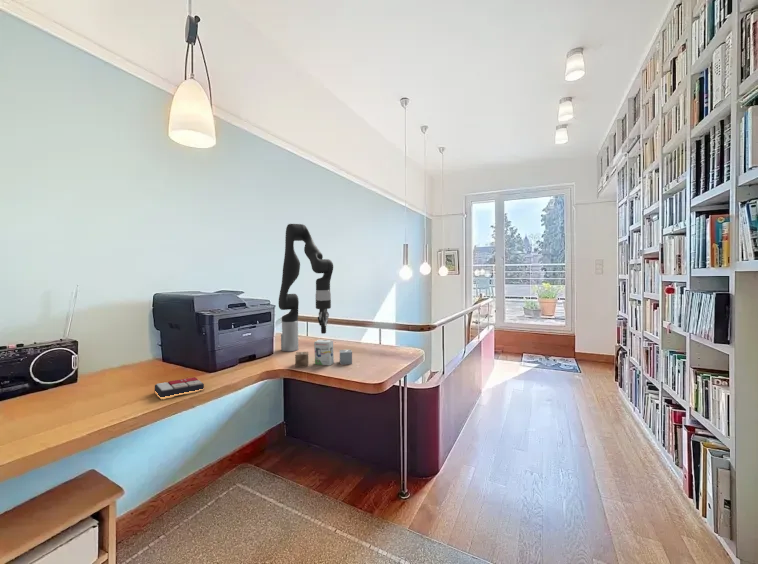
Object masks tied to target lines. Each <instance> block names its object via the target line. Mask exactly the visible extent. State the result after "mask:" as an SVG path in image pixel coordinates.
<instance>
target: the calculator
mask: <svg viewBox="0 0 758 564" xmlns="http://www.w3.org/2000/svg"><path fill="white" fill-rule="evenodd" d="M203 388H204V389H205V384H204V383H203V382H202V381H201V380H200V379H199V378H197V377H187V378H181V379H175V380H169V381H168V382H166V381H165V382H161V383H156V384H154V392H155V391H156V392H157V393H158V395H159V396H160V397H165V396H170V395H174V394H179V393H184V392H189V391H195V390H199V389H203Z"/></svg>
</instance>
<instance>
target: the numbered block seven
mask: <svg viewBox="0 0 758 564" xmlns="http://www.w3.org/2000/svg"><path fill="white" fill-rule="evenodd" d="M339 363H340V364H341V365H353V351H352V349H339ZM340 364H339V365H340Z"/></svg>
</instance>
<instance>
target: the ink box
mask: <svg viewBox="0 0 758 564" xmlns="http://www.w3.org/2000/svg"><path fill="white" fill-rule="evenodd" d="M313 346H314V364H315V365H317V366H331V365H333V364H334V363H335V359H334V340H332V339H331V340H330V339H317V340H315V341H314V342H313Z"/></svg>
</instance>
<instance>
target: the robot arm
mask: <svg viewBox="0 0 758 564" xmlns="http://www.w3.org/2000/svg"><path fill="white" fill-rule="evenodd" d="M285 229H286V230H285V247H284V258H283V265H282V276H281V277H282V278H281V286H280V290H279V296H278V308H279V309H280V310H281V311H288V310H289V312H288V313H286V314H285V315H282V317H281V334H280V351H283V352H296V351H298V350H299V303H300V302H299V296H298V294H296V293H289V290H290V288H291V287H292V285H293V283H295V281H296V280H297V279H298V277H299V275H300V270H301V262H300V260H299V257H298V255H297V254H296V252H295V248H294V247H295V246H294V245H295V244H294V242H295V241H296V242H297V241H298V242H299V241H300V242H303V243H304V248H303V250H304V251H303V252H304V254H305V255H306V257H307V258H308V260H309V261H310V265H311V266H310V267H311V270H312V271H313V273H315V274H322V277H320V278H319V277H318V278H317V279H316V280H315V309H316V310H319V312H318V316H317V320H318V325H319V326H320V331H321V332H320V333H321V334H322V335H323V334H327V325H328V323H329V317H330V314H329V312H328V310H329V309H331V307H332V301H331V299H332V296H331V280H332V275H333V271H334V263H333V261H332V260H331V259H328V258H325V259H323V258H324V257H323V253H322V252H321V251H320V249H319V248H318V246H317V245H316V244H315V242H314V238H313V236H312V234H311V232H310V231H309V228H308V227H307V226H306V224H303V223H302V224H301V223H287V226H286V228H285Z"/></svg>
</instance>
